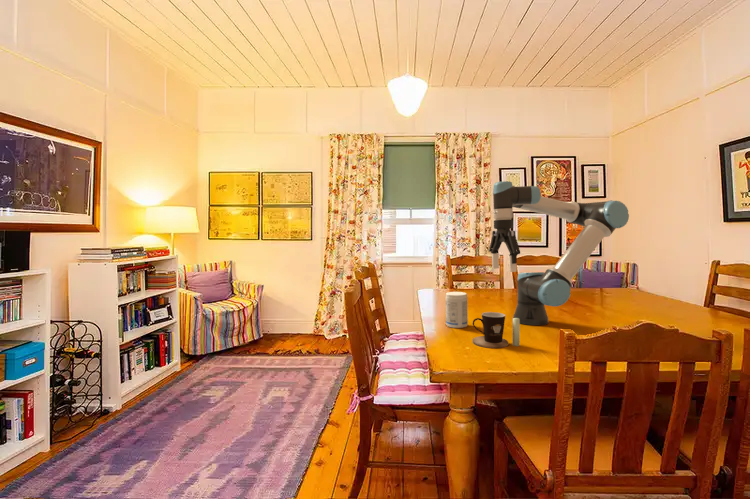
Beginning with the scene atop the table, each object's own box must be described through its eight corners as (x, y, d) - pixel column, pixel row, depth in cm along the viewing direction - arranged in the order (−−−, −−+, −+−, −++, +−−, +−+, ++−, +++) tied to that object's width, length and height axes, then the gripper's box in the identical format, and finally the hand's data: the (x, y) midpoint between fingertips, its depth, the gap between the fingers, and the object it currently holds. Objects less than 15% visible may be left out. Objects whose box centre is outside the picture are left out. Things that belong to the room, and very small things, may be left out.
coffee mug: (505, 338, 149) (505, 313, 149) (504, 344, 141) (504, 317, 141) (474, 335, 153) (474, 311, 153) (472, 341, 145) (472, 315, 145)
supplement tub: (461, 322, 178) (461, 291, 178) (471, 327, 169) (471, 294, 168) (442, 324, 176) (442, 292, 176) (450, 329, 167) (450, 295, 166)
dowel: (516, 344, 145) (516, 317, 144) (520, 345, 143) (521, 319, 142) (511, 344, 144) (511, 318, 143) (515, 346, 142) (515, 319, 141)
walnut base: (493, 336, 155) (493, 334, 155) (515, 345, 143) (515, 343, 143) (465, 340, 150) (465, 338, 150) (486, 349, 138) (486, 347, 138)
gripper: (480, 220, 172) (481, 267, 173) (511, 218, 147) (512, 273, 149) (495, 219, 173) (496, 266, 175) (529, 218, 149) (529, 272, 150)
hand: (504, 270), depth 162 cm, fingers open, 13 cm apart
